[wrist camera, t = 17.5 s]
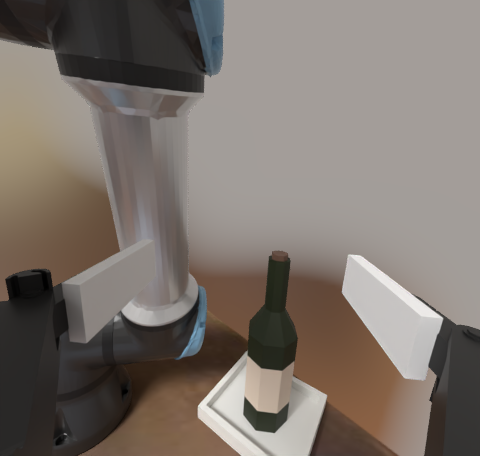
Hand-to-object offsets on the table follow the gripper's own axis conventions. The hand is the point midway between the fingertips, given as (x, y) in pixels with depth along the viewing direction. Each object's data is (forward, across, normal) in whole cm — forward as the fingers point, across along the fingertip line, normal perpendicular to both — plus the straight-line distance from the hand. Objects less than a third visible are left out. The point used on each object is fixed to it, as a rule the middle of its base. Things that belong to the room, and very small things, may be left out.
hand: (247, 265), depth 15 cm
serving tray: (+18, +4, -36) cm, 41 cm away
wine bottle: (+18, +4, -35) cm, 40 cm away
